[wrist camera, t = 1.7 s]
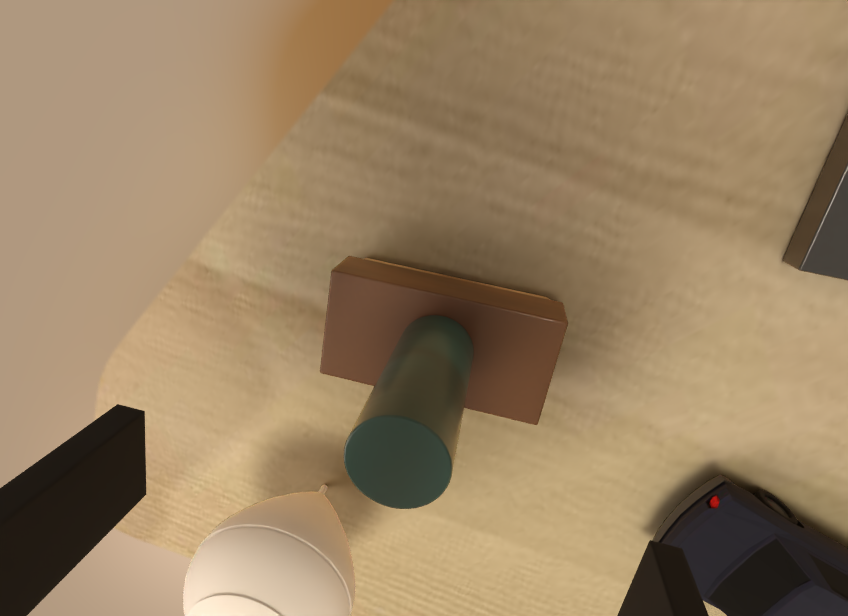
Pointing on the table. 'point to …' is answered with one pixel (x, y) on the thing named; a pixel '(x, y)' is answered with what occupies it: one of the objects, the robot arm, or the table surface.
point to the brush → (431, 368)
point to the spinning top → (274, 562)
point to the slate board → (825, 219)
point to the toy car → (756, 554)
